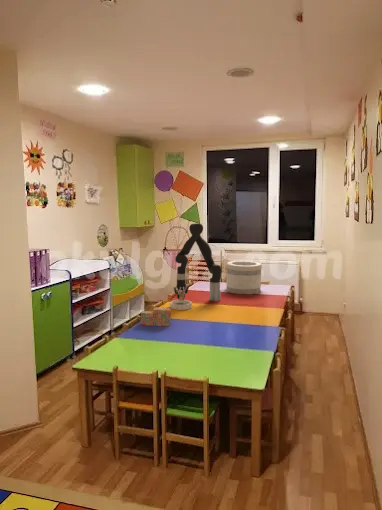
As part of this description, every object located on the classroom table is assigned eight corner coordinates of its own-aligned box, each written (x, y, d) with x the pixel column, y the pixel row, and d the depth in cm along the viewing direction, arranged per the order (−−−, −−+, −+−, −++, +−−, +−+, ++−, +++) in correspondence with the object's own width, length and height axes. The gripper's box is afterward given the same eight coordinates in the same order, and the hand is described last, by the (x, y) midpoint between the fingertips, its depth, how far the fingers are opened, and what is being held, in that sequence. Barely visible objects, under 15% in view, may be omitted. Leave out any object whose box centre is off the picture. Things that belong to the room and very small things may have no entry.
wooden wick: (182, 299, 360) (182, 291, 358) (184, 300, 356) (184, 292, 355) (178, 299, 358) (178, 291, 357) (179, 300, 354) (179, 292, 353)
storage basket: (267, 292, 416) (268, 265, 412) (236, 295, 403) (237, 267, 399) (249, 285, 448) (250, 260, 444) (220, 287, 435) (220, 261, 431)
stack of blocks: (140, 325, 307) (140, 309, 306) (142, 322, 313) (142, 306, 312) (169, 326, 305) (169, 310, 304) (170, 323, 312) (171, 307, 310)
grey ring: (186, 303, 369) (186, 299, 369) (194, 308, 353) (195, 304, 352) (167, 305, 363) (167, 300, 362) (174, 310, 346) (174, 305, 346)
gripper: (187, 277, 361) (187, 296, 363) (171, 278, 355) (171, 298, 357) (190, 278, 354) (190, 298, 356) (174, 280, 348) (174, 300, 351)
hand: (181, 298), depth 357 cm, fingers closed on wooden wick, 4 cm apart
